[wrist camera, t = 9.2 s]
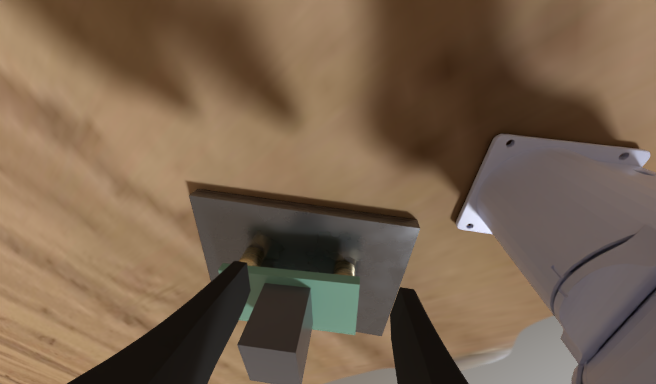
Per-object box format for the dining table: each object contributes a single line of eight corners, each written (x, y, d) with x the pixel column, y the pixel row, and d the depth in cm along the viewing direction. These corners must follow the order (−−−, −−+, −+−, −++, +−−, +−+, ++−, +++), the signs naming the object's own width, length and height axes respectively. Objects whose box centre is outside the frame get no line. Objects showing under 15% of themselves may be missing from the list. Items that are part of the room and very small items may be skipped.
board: (359, 276, 19) (358, 353, 14) (355, 326, 23) (353, 402, 18) (222, 263, 20) (177, 328, 15) (238, 311, 24) (205, 378, 19)
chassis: (417, 219, 20) (427, 250, 17) (380, 326, 28) (383, 360, 25) (197, 188, 21) (168, 211, 18) (222, 298, 29) (205, 327, 26)
